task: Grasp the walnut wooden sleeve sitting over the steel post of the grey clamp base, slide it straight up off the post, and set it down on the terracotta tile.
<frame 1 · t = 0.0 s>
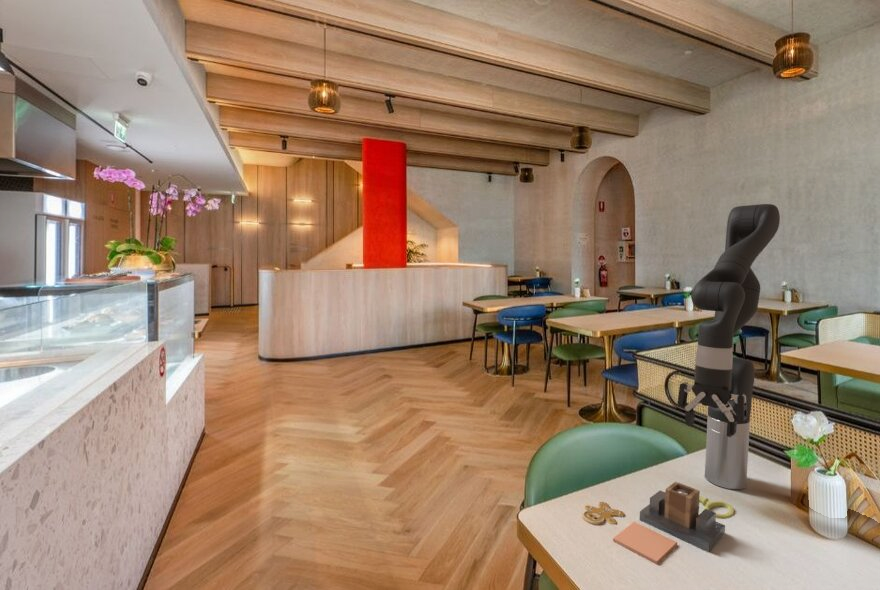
hand: (709, 430, 105), 17 cm above the table, tool pointing down, fingers open, 8 cm apart
grey clamp base: (680, 526, 95), on the table
sleeve: (681, 518, 95), point 2 cm above the table, touching grey clamp base
tile: (644, 542, 89), on the table
key: (705, 506, 104), on the table
cookie: (600, 516, 99), on the table
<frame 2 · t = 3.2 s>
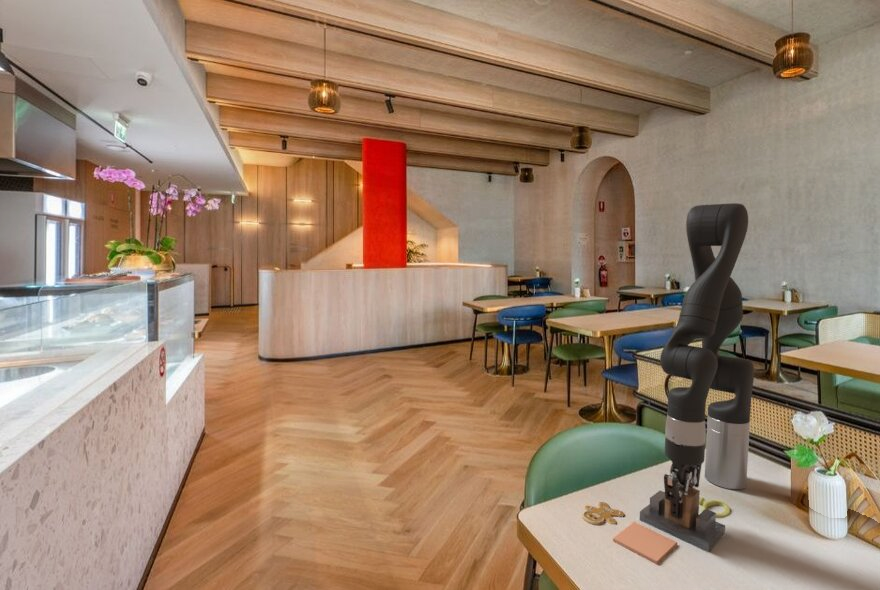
hand: (681, 512, 94), 3 cm above the table, tool pointing down, fingers closed on sleeve, 5 cm apart
sleeve: (681, 518, 95), point 2 cm above the table, touching gripper, grey clamp base
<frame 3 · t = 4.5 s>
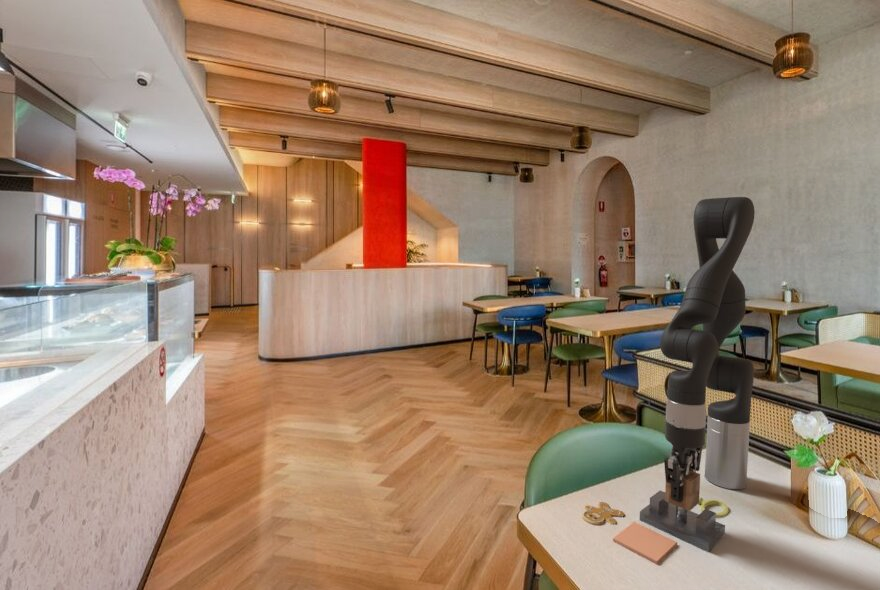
hand: (682, 495, 94), 7 cm above the table, tool pointing down, fingers closed on sleeve, 5 cm apart
sleeve: (681, 501, 95), point 6 cm above the table, touching gripper
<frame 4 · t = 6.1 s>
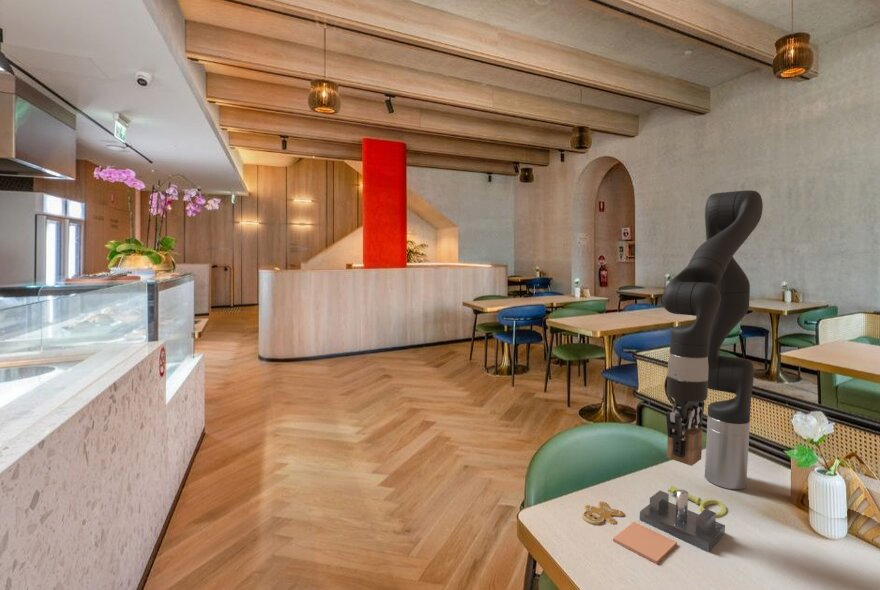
hand: (684, 451, 93), 17 cm above the table, tool pointing down, fingers closed on sleeve, 5 cm apart
sleeve: (684, 458, 94), point 16 cm above the table, touching gripper
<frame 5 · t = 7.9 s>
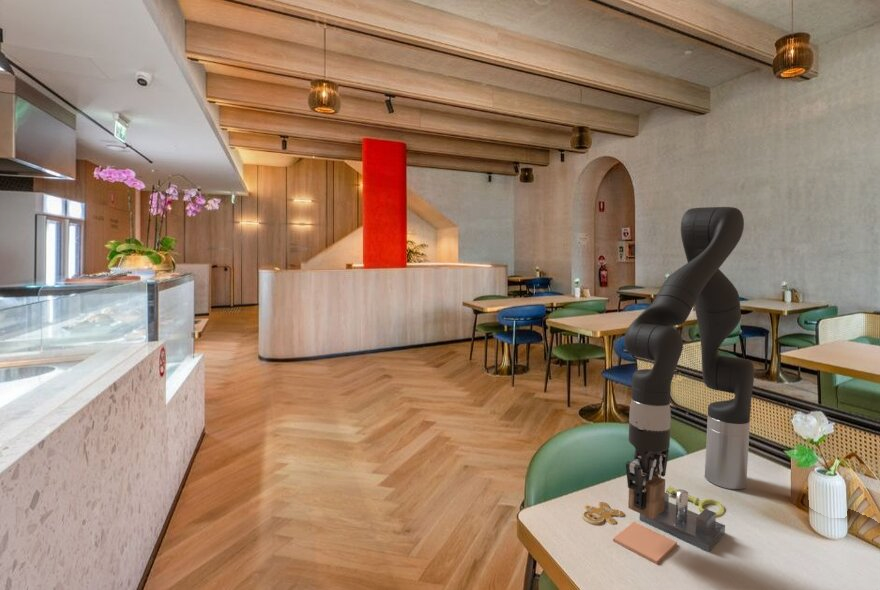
hand: (646, 502, 89), 9 cm above the table, tool pointing down, fingers closed on sleeve, 5 cm apart
sleeve: (646, 509, 89), point 7 cm above the table, touching gripper
when the fingers open (4 cm above the table, at t = 9.4 s): sleeve drops 2 cm, resting on tile.
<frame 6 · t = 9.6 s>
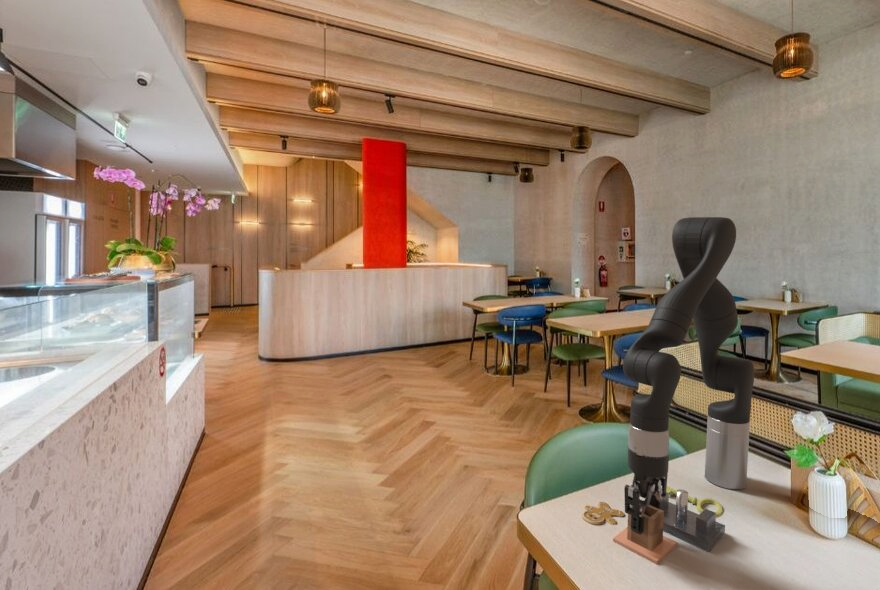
hand: (645, 524, 89), 4 cm above the table, tool pointing down, fingers open, 6 cm apart
sleeve: (644, 540, 89), point 1 cm above the table, touching tile
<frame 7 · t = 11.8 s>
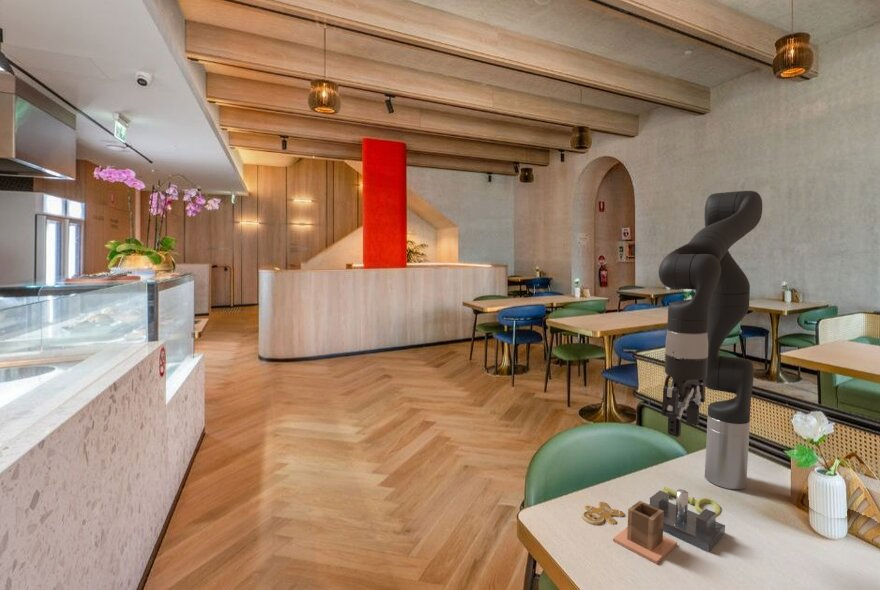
hand: (683, 429, 89), 24 cm above the table, tool pointing down, fingers open, 8 cm apart
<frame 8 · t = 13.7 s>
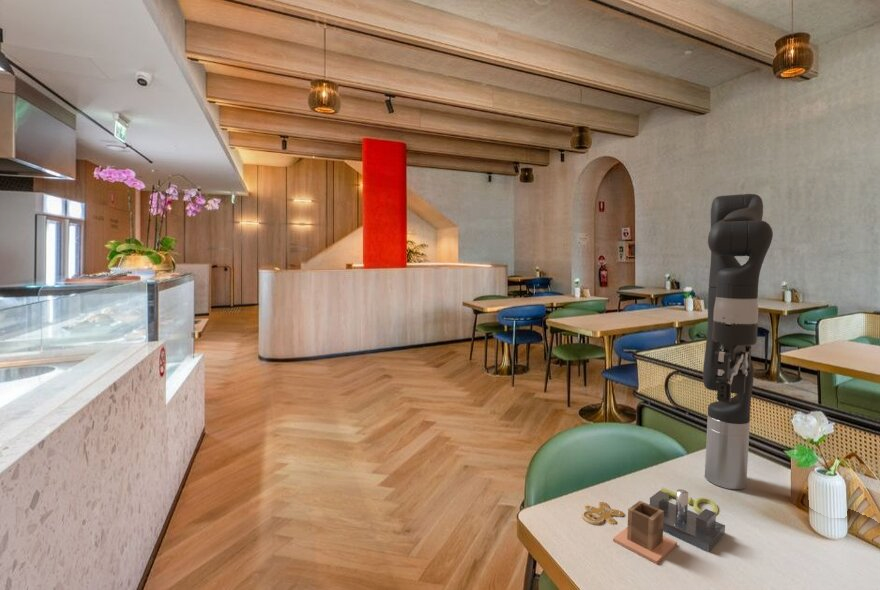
hand: (731, 397, 89), 30 cm above the table, tool pointing down, fingers open, 8 cm apart
at the end: sleeve 0.0 cm off-centre on the tile, point 0.6 cm above the tile's base; sleeve tilted 0°; the gripper is holding nothing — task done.
